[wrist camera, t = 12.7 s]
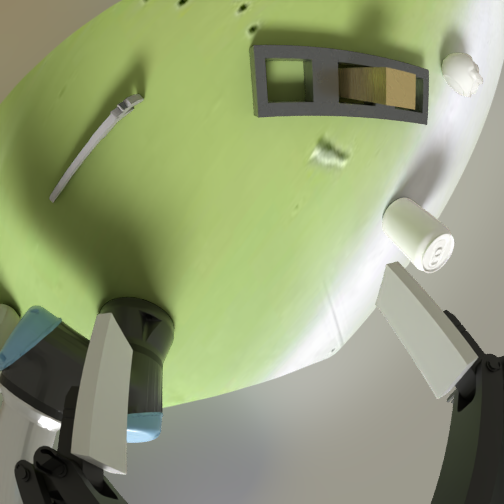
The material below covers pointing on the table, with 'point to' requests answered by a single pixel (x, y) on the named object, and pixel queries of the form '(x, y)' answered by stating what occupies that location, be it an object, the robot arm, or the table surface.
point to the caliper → (97, 140)
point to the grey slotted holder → (330, 84)
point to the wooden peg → (378, 86)
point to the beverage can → (418, 234)
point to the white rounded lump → (461, 74)
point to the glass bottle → (7, 323)
